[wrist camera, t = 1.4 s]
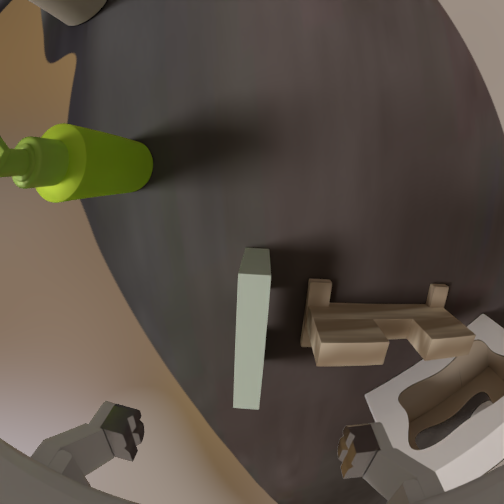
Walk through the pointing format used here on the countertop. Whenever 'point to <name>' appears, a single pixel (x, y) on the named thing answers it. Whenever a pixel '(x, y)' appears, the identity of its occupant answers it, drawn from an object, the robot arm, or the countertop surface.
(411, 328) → the wooden peg bench
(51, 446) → the robot arm
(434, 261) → the countertop surface
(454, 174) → the countertop surface
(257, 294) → the grey-green rectangular slab
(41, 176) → the soap dispenser
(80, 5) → the travel mug
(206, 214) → the countertop surface
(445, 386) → the gable box
